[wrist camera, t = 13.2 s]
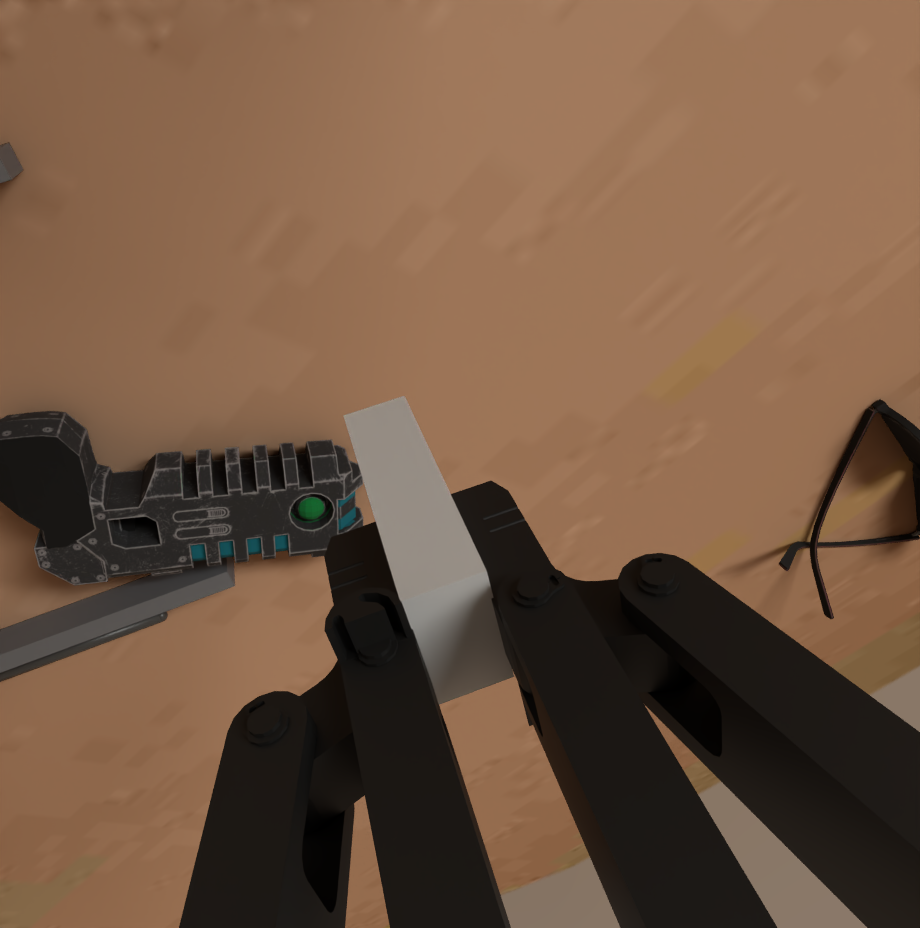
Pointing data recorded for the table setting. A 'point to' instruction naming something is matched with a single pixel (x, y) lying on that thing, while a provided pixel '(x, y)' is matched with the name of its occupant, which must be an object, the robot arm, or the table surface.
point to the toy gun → (169, 502)
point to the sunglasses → (911, 440)
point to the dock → (107, 610)
